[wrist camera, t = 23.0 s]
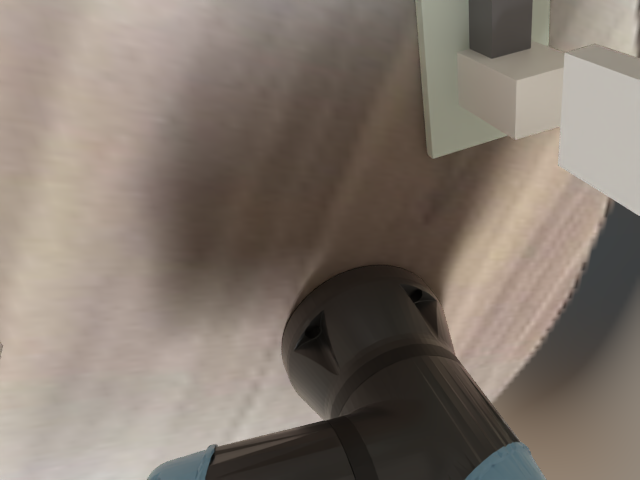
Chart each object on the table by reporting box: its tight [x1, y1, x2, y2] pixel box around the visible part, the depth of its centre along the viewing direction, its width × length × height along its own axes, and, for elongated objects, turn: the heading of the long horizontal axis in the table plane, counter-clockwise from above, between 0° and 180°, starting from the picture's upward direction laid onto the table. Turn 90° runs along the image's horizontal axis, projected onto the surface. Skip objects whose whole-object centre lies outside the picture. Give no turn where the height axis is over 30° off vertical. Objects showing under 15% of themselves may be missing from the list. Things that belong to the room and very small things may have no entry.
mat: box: [415, 0, 550, 159], centre depth 42 cm, size 19×10×1 cm, turn 10°
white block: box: [457, 0, 565, 140], centre depth 38 cm, size 14×5×8 cm, turn 10°
